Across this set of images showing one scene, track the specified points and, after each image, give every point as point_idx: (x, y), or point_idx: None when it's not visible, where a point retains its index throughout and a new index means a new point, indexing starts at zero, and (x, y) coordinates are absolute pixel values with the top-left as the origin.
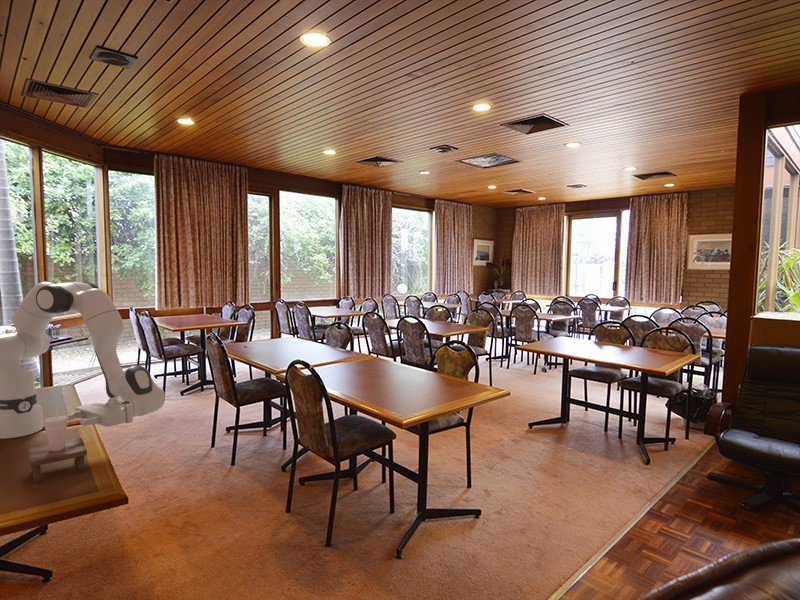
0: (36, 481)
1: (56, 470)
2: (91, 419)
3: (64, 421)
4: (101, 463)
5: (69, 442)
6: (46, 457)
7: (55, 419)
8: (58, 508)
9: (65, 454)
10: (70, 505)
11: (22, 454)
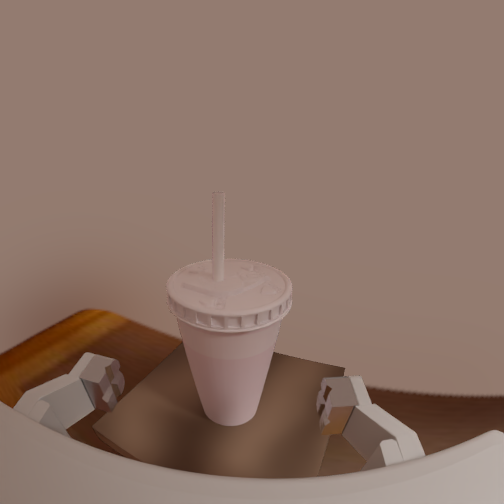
0: None
1: None
2: (54, 383)
3: (171, 300)
4: None
5: (271, 462)
6: (181, 355)
7: (209, 272)
8: (55, 338)
9: (138, 384)
10: (42, 346)
11: (467, 419)
